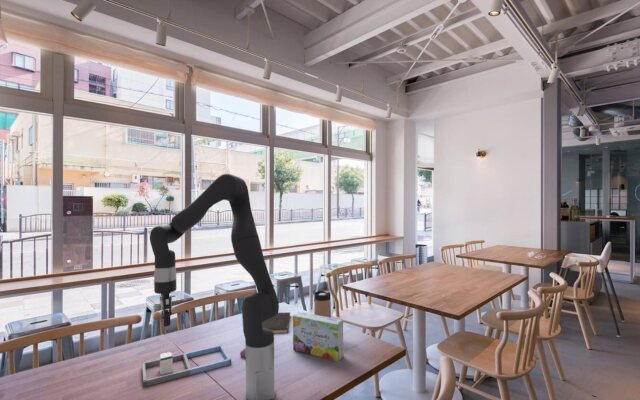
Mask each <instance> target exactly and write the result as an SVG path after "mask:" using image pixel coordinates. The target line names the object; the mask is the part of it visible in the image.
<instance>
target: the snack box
mask: <svg viewBox="0 0 640 400" xmlns="http://www.w3.org/2000/svg"><path fill="white" fill-rule="evenodd" d="M292 348H293V351H295V352H296V351H297V352H300V353H304V354H307V355H311V356H316V357H320V358H322V357H323V359H326V358H327V360H330V359H331V361H335V362H340V361H341V359H342V358H343V357H344V320H343V319H341V318H340V319H338V318H334V317H331V318H329V317H324V316H319V315H314V314H313V313H307V312H301V311H298V312H296V313H295V314H293V315H292Z"/></svg>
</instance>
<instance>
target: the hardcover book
mask: <svg viewBox="0 0 640 400" xmlns="http://www.w3.org/2000/svg"><path fill="white" fill-rule="evenodd" d="M290 319H291V312H288V311H287V312H278V314H277V315H276V316H275V317H273V318H270V319H268V320H265V321H262V328H267V329H270V330H272V331H273V333H274V334H286V333H287V332H288V329H289V323H290Z"/></svg>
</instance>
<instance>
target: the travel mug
mask: <svg viewBox="0 0 640 400" xmlns="http://www.w3.org/2000/svg"><path fill="white" fill-rule="evenodd" d="M313 294H314V295H313V296H314V297H313V301H314V302H313V305H314V306H313V307H314V308H313V309H314V310H313V311H314V314H313V315H319V316H324V317H329V318H332V308H331V307H332V303H331V301H332V299H331V298H332V297H331V294H332V293H331V292H330V291H328V292H326V291H325V290H319V291H315V292H314V293H313Z"/></svg>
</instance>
